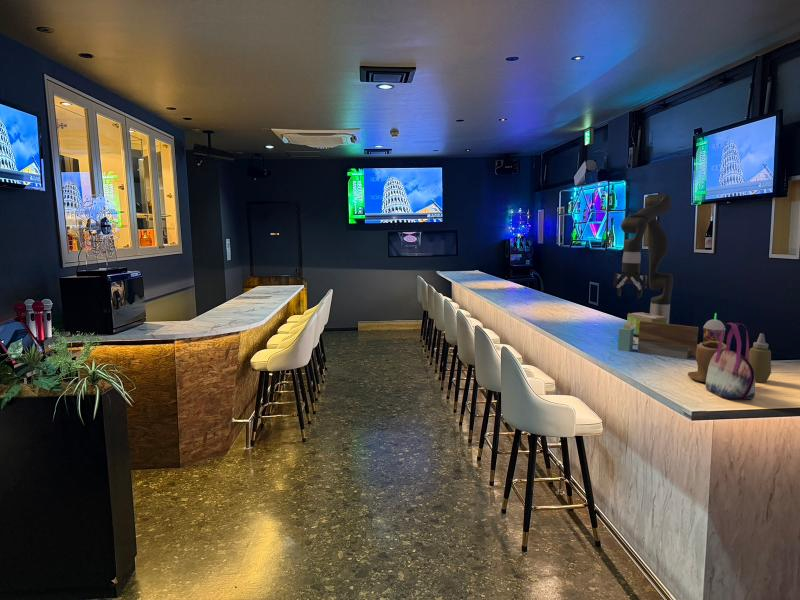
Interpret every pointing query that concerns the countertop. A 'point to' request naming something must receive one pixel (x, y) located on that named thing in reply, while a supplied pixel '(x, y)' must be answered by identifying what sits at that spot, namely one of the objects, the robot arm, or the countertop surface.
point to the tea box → (635, 319)
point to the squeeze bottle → (760, 359)
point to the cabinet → (625, 338)
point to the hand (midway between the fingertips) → (628, 297)
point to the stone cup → (704, 359)
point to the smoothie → (713, 330)
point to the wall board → (667, 339)
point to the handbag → (731, 370)
